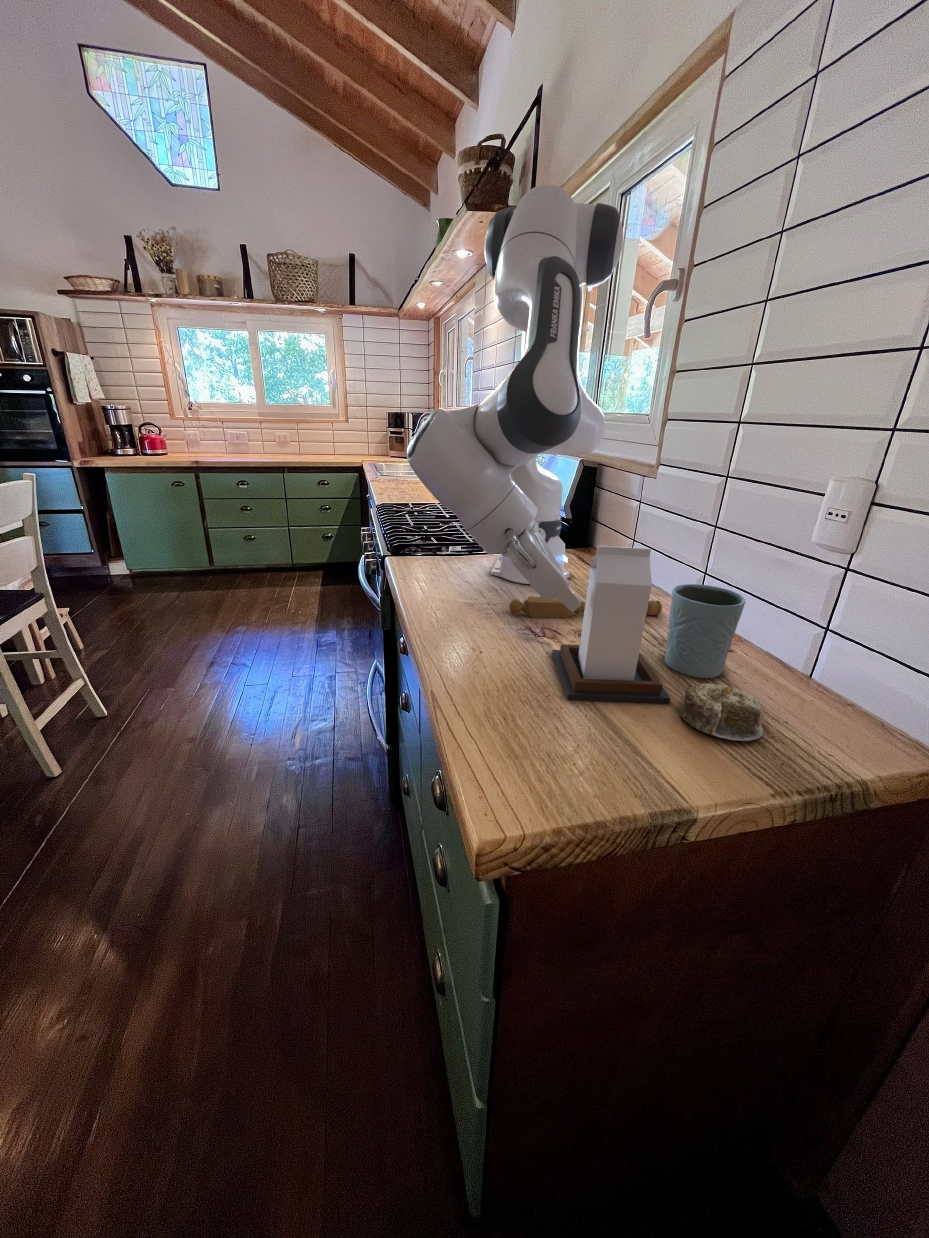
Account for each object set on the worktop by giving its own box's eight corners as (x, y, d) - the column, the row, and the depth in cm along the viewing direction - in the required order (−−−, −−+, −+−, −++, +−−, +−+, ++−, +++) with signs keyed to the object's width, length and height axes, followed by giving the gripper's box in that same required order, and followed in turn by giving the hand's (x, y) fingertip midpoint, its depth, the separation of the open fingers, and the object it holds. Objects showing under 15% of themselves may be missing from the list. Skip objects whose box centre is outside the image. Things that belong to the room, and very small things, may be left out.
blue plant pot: (694, 685, 73) (713, 609, 68) (644, 656, 81) (658, 587, 77) (741, 672, 77) (761, 600, 72) (689, 646, 85) (704, 580, 81)
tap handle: (664, 603, 96) (511, 602, 94) (661, 617, 97) (509, 617, 95) (657, 597, 99) (508, 596, 97) (654, 612, 100) (507, 611, 98)
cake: (661, 709, 68) (667, 673, 66) (721, 701, 70) (728, 666, 69) (715, 748, 59) (724, 707, 57) (782, 737, 61) (792, 698, 60)
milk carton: (633, 684, 71) (657, 555, 64) (582, 680, 72) (601, 552, 64) (623, 662, 77) (644, 542, 70) (577, 658, 78) (593, 539, 71)
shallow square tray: (552, 654, 81) (553, 641, 80) (637, 657, 81) (640, 644, 80) (567, 699, 68) (569, 685, 67) (669, 703, 68) (672, 688, 67)
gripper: (531, 522, 55) (606, 607, 59) (516, 494, 74) (573, 560, 78) (489, 559, 57) (565, 639, 61) (484, 523, 76) (542, 586, 80)
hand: (569, 594), depth 70 cm, fingers open, 8 cm apart
